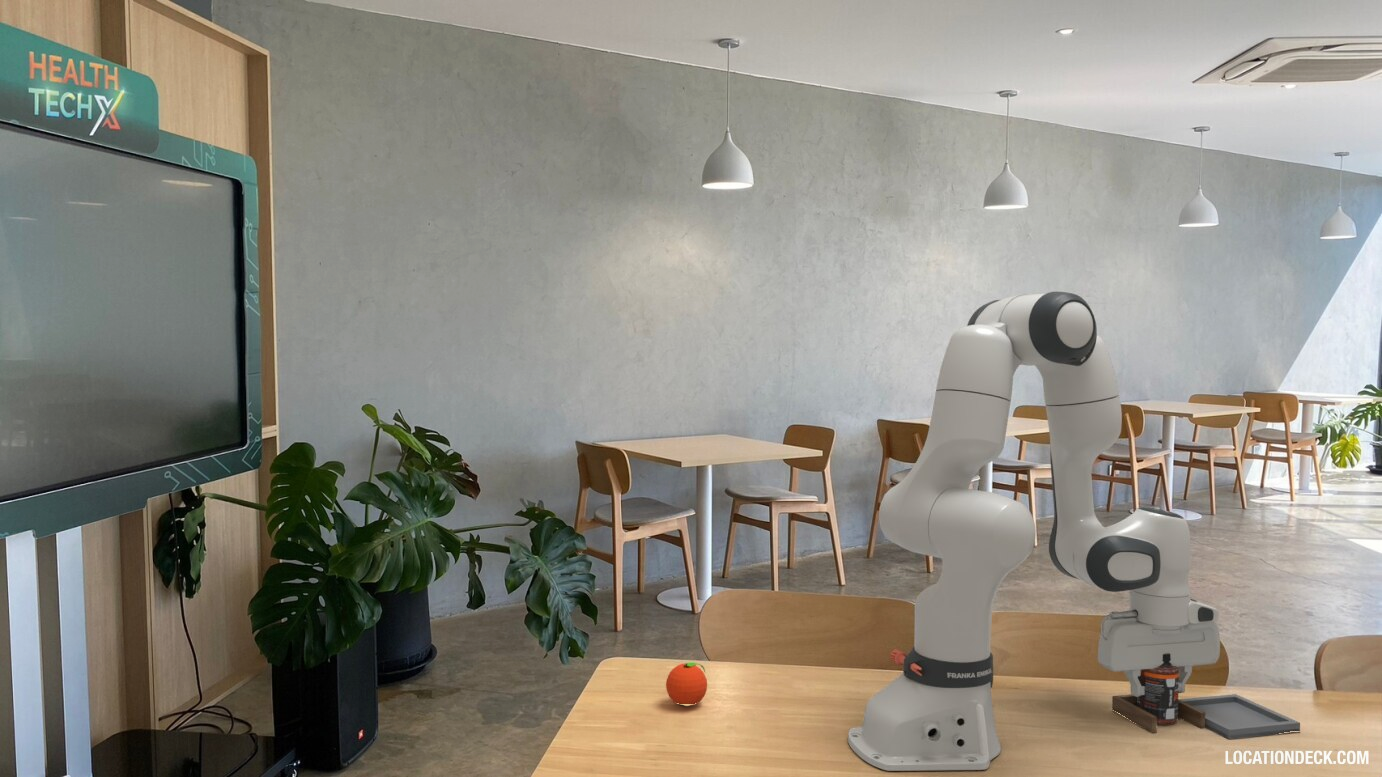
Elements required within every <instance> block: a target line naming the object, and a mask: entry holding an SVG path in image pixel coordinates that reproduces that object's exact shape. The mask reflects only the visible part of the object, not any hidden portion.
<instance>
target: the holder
mask: <svg viewBox="0 0 1382 777" xmlns="http://www.w3.org/2000/svg"><path fill="white" fill-rule="evenodd" d="M1111 698H1112V700H1111V701H1112V705H1111V706H1112V707H1111V711H1112V710H1114V711H1116V712H1118V713H1120V714H1121V715H1123V716H1125V717H1126V718H1128V719H1129V720H1131V721H1132V722H1131V721H1130V722H1131V723H1133V722H1134V723H1133V724H1135V723H1136V724H1135V725H1137V726H1138V725H1139V726H1138V727H1140V726H1141V727H1140V728H1142V729H1144V730H1146V731H1147V732H1149V733H1151V734H1157V732H1158V731H1157V727H1158V724H1157V717H1156V716H1154V715H1152V714H1150V713H1149V712H1147V711H1145V710H1143V709H1141V708H1139V707H1137V697H1136V696H1134V695H1132V694H1131V693H1130V694H1122V695H1121V694H1119V695H1112V696H1111ZM1179 699H1180V698H1178V718H1179V717H1180V718H1179V719H1181V718H1182V719H1181V720H1183V719H1184V720H1183V721H1185V722H1188V723H1189V724H1191V725H1193V726H1195V727H1197V728H1199V729H1206V728H1205V712H1204V711H1202V710H1199V709H1197V708H1195V707H1193V706H1191V705H1189V704H1187V703H1185V702H1183V701H1181V700H1179ZM1126 718H1125V719H1126ZM1128 719H1127V720H1128ZM1129 720H1128V721H1129Z"/></svg>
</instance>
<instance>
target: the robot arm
mask: <svg viewBox="0 0 1382 777" xmlns="http://www.w3.org/2000/svg"><path fill="white" fill-rule="evenodd" d="M1097 330H1098V329H1097V323H1096V318H1095V315H1094V313H1093V311H1092V308H1091V307H1090V305H1089V303H1088V302H1087V301H1086V300H1085V299H1084V298H1083V297H1082V296H1080V295H1078V294H1075V293H1071V292H1066V291H1050V292H1047V293H1031V294H1030V293H1022V294H1017V295H1013V296H1009V297H1006V298H1003V299H995V300H992V301H989V302H987V303H985V304H983V305H981V306H980V307H979V308H977V309H976V310H975V311H974V313H973V314H972V315H971V316H970V318H969V320H968V322H967V325H965V326H963V327H960V328H959V329H957V330H956V331H955V332H954V333H953V334H952V335H951V338H949V342H948V345H947V347H946V350H945V353H944V356H943V358H942V362H941V366H940V370H939V374H938V378H937V383H936V389H935V395H934V400H933V406H932V413H931V418H930V422H929V428H928V432H927V436H926V440H925V442H924V445H923V447H922V450H921V452H920V454H919V456H918V458H917V459H916V460H917V461H916V462H915V463H914V465H913V467H912V468H911V469H910V471H909V472H908V473H907V475H906V476H905V477H904V478H903V479H902V480H901V481H900V482H899V483H897V484H895V485H894V486H892V487H891V488H889V489H888V491H886V493H885V495H884V496H883V498H882V500H881V503H880V506H879V510H878V523H879V527H880V530H881V532H882V533H883V535H884V537H885V539H887V540H888V541H889V542H891V543H893V544H895V545H897V546H899V547H900V548H903V549H905V550H907V551H909V552H911V553H916V554H920V555H925V556H929V557H933V558H936V559H937V558H938V559H941V561H942V566H941V572H940V575H939V577H938V578H939V579H938V580H937V582H936V583H934V584H931V585H929V586H927V587H926V588H924V589H923V590H922V591H921V592H920V593H919V594H918V595H917V597H916V600H915V602H914V641H913V642H914V644H913V647H912V648H911V650H910V652H908V654H907V653H906V652H903V651H902V650H901V649H899V648H895V649H893V650H892V651H891V653H890V659H891V660H892V662H894V663H896V665H898V666H903V670H902V673H901V674H899V676H898V677H896V678H895V679H894V680H892V681H891V682H890V683H888V685H886V686H885V687H884V688H882V689H881V690H880V691H878V692H877V693H876V694H874V695H873V696H872V697H870V698H869V700H868V701H867V703H866V706H865V709H864V715H863V719H862V726H856V727H852V728H850V729H849V730H848V735H847V742H848V745H849V746H850V748H851V749H852V751H854V753H855V755H857V756H858V757H860V758H861V759H862V760H863V761H865V762H866V763H868V764H869V765H871V766H874V767H876V768H879V769H881V770H883V771H887V772H888V771H889V772H891V771H892V772H894V771H897V772H899V771H900V772H901V771H902V772H904V771H908V772H909V771H914V772H915V771H976V770H977V771H982V770H987V769H989V767H990V764H991V761H992V760H993V759H995V758H996V757H997V756H999V755H1000V753H1001V750H1002V747H1001V743H1000V740H999V736H998V733H997V728H996V723H995V718H994V716H995V715H994V710H993V699H992V688H993V684H994V655H993V653H992V652H991V634H992V631H991V630H992V618H993V616H992V615H993V607H994V602H995V598H996V595H997V593H998V589H999V588H1000V586H1001V584H1002V582H1003V580H1004V579H1005V578H1006V577H1007V575H1009V573H1010V572H1011V571H1013V570H1014V569H1016V568H1017V567H1018V566H1020V565H1022V564H1023V563H1024V562H1025V561H1026V560H1027V559H1028V557H1029V556H1030V554H1031V553H1032V551H1033V549H1034V546H1035V543H1036V533H1037V529H1036V522H1035V520H1034V516H1033V515H1032V513H1031V511H1030V510H1029V508H1028V507H1027V506H1026V504H1024V503H1022V502H1020V501H1018V500H1015V499H1013V498H1010V497H1007V496H1005V495H1002V494H999V493H997V492H991V491H986V490H979V489H972V488H970V485H971V482H972V480H973V478H974V477H975V476H976V474H977V473H978V472H979V470H980V469H981V468H983V467H984V466H985V465H987V464H989V463H991V462H993V461H995V460H996V459H998V457H1000V455H1001V453H1002V452H1003V450H1004V448H1005V447H1004V446H1005V442H1006V434H1007V428H1008V421H1009V414H1010V407H1011V400H1012V394H1013V385H1014V383H1013V382H1014V375H1015V373H1016V371H1017V370H1018V368H1019V366H1020V365H1021V366H1028V367H1029V366H1035V368H1036V369H1037V371H1038V372H1039V374H1040V375H1041V377H1042V385H1043V386H1042V389H1043V397H1044V398H1043V399H1044V404H1045V411H1046V417H1047V424H1048V431H1049V440H1050V441H1049V442H1050V443H1049V446H1050V448H1049V450H1050V451H1049V455H1050V458H1049V460H1050V462H1049V463H1050V473H1051V488H1052V498H1053V512H1054V513H1053V516H1054V517H1053V524H1052V528H1051V533H1050V536H1049V540H1048V553H1049V557H1050V560H1051V562H1052V563H1053V565H1054V567H1055V568H1056V569H1057V570H1058V571H1059V572H1061V574H1063V575H1066V576H1068V577H1071V578H1073V579H1077V580H1080V581H1082V582H1085V583H1086V584H1088V585H1090V586H1093V587H1095V588H1097V589H1100V590H1103V591H1104V592H1105V591H1106V592H1110V593H1111V592H1112V593H1117V592H1118V593H1120V592H1125V591H1129V600H1128V601H1129V602H1128V603H1129V605H1128V606H1129V608H1128V610H1122V611H1110V612H1109V613H1108V614H1107V615H1106V616H1105V617H1104V618H1103V619H1102V620H1101V623H1100V624H1101V626H1100V630H1101V631H1100V635H1099V642H1098V648H1097V649H1098V650H1097V661H1098V663H1099V665H1101V667H1103V668H1104V669H1106V670H1109V671H1111V672H1115V673H1116V672H1117V673H1118V672H1123V673H1124V675H1125V676H1126V679H1127V680H1128V682H1129V684H1130V691H1129V692H1130V694H1132V695H1134V696H1136V697H1139V696H1145V695H1146V693H1145V690H1146V686H1145V685H1142V684H1141V683H1140V682H1139V680H1138V676H1140V670H1144V669H1154V668H1157V667H1159V666H1160V665H1162V664H1163V663H1164V662H1163V661H1162V660H1163V654H1166V653H1170V654H1171V655H1170V657H1171V661H1169V662H1170V663H1171V664H1172V666H1176V667H1178V670H1179V684H1178V685H1179V686H1178V694H1184V693H1186V683H1187V682H1188V680H1189V678H1190V676H1191V675H1192V673H1193V666H1194V667H1195V666H1206V665H1208V666H1209V665H1215V664H1216V663H1217V662H1218V660H1219V658H1220V654H1221V648H1220V647H1221V642H1220V640H1221V637H1220V629H1219V626H1218V625H1217V623H1216V622H1217V621H1218V620H1219V610H1218V609H1217V608H1215V607H1214V606H1211V605H1208V604H1205V603H1202V602H1200V601H1197V600H1195V599H1192V598H1191V593H1192V592H1191V588H1190V584H1189V573H1190V571H1191V568H1192V543H1191V542H1192V541H1191V533H1190V528H1189V524H1188V522H1187V520H1186V519H1185V518H1184V517H1183V516H1182V515H1180V514H1178V513H1176V512H1172V511H1169V510H1164V509H1160V508H1156V507H1149V506H1141V507H1137V508H1136V509H1135V511H1134V512H1132V514H1130V515H1128V516H1127V517H1126V518H1124V519H1122V520H1120V521H1118V522H1116V523H1114V524H1110V525H1108V526H1104V525H1102V524H1101V522H1100V521H1099V520H1098V517H1097V516H1096V513H1095V505H1094V493H1093V492H1094V490H1093V479H1092V477H1093V476H1092V470H1093V465H1094V463H1095V461H1096V459H1097V458H1098V457H1099V455H1101V454H1104V452H1107V451H1108V450H1109V449H1110V448H1112V447H1113V445H1114V444H1115V443H1116V442H1117V440H1118V439H1119V437H1120V435H1121V433H1122V424H1123V422H1122V419H1123V414H1122V413H1123V412H1122V404H1121V398H1120V397H1121V396H1120V393H1119V392H1120V390H1119V387H1118V386H1119V385H1118V380H1117V376H1116V373H1115V369H1114V366H1113V362H1112V359H1111V357H1110V353H1109V351H1108V348H1107V345H1106V343H1105V341H1104V340H1103V338H1102V337H1101V336H1100V335H1098V333H1097Z"/></svg>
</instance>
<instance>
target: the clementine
mask: <svg viewBox="0 0 1382 777" xmlns="http://www.w3.org/2000/svg"><path fill="white" fill-rule="evenodd" d="M697 665H699V666H700V667H701V668H702V669H701V668H700V667H698V666H697ZM707 680H708V679H707V678H706V670H705V667H704V665H702V664H700V663H696V662H687V663H686V662H685V663H680V664H678V665H677V666H675V667H674V668H672V669H671V671H669V673H668V675H667V678H666V682H665V689H666V692H667V695H668V697H669V698H670V700H671V701H672V700H673V701H674V702H673V701H672V702H673V703H675V702H676V703H679V704H695V703H697V704H699V703H700V702H701V701H702V700H703V698H704V697H705V695H706V693H707V689H708V681H707ZM698 702H699V703H698ZM676 703H675V704H676ZM695 705H696V704H695Z"/></svg>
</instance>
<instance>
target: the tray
mask: <svg viewBox="0 0 1382 777" xmlns="http://www.w3.org/2000/svg"><path fill="white" fill-rule="evenodd" d="M1178 699H1179V700H1181V701H1183V702H1185V703H1187V704H1189V705H1191V706H1193V707H1195V708H1197V709H1199V710H1202V711H1204V712H1205V728H1204V729H1207V730H1209V731H1212V732H1213V733H1215V734H1217V735H1219V736H1221V737H1223V738H1225V739H1227V740H1238V739H1248V738H1256V737H1257V738H1259V737H1265V736H1266V737H1268V736H1276V735H1275V734H1278V735H1280V734H1279V733H1284V732H1290V731H1300V732H1301V722H1299V721H1297V720H1295V719H1293V718H1290V717H1288V716H1286V715H1283V714H1282V713H1279V712H1276V711H1274V710H1272V709H1271V708H1268V707H1266V706H1263V705H1261V704H1259V703H1256V702H1254V701H1252V700H1249V699H1247V698H1245V697H1243V696H1241V695H1238V694H1236V693H1234V694H1233V693H1232V694H1223V695H1212V696H1200V697H1191V698H1190V697H1188V698H1187V697H1186V698H1178Z"/></svg>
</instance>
